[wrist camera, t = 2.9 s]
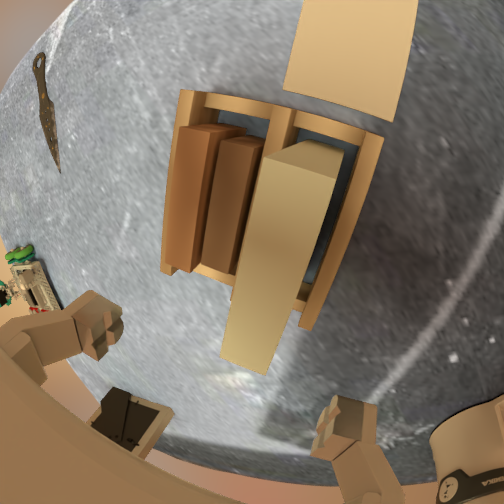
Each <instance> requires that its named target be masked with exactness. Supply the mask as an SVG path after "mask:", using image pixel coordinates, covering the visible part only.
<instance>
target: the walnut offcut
mask: <svg viewBox="0 0 504 504" xmlns="http://www.w3.org/2000/svg"><path fill="white" fill-rule="evenodd" d="M265 140H266V139H264V138H260V137H256V136H252V135H247V136H241V137H235V138H229V139H224V140H221V142H220V147H219V153H218V158H217V164H216V169H215V175H214V181H213V187H212V193H211V199H210V205H209V211H208V218H207V224H206V231H205V237H204V244H203V251H202V258H201V265H204V266H207V267H209V268H212V269H214V270H217V271H219V272H222V273H225V274H227V275H228V274H229V272H230V271H231V270H232V269H233V268H234V266H235V265H236V264H237V263H238V261H239V257H240V252H241V247H242V243H243V238H244V234H245V229H246V225H247V220H248V216H249V211H250V207H251V202H252V198H253V193H254V189H255V184H256V180H257V176H258V171H259V167H260V162H261V158H262V154H263V149H264V145H265Z"/></svg>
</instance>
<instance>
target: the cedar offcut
mask: <svg viewBox="0 0 504 504" xmlns="http://www.w3.org/2000/svg"><path fill="white" fill-rule="evenodd" d="M246 129H247V128H242V127H238V126H233V125H229V124H224V123H214V124H201V125H191V126H181V127H179V132H178V138H177V145H176V152H175V160H174V167H173V175H172V184H171V193H170V203H169V213H168V224H167V237H166V251H165V263H166V264H168V265H171V266H173V267H176V268H178V269H180V270H183V271H185V272H188V273H191V272H192V271H193V270H194V269H195V268H196V267H197V266H198V265H199V264H200V263H201V258H202V251H203V244H204V237H205V231H206V224H207V218H208V211H209V205H210V199H211V193H212V187H213V181H214V175H215V169H216V164H217V158H218V153H219V147H220V142H221V140H224V139H229V138H235V137H241V136H245V134H246Z"/></svg>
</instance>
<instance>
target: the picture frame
mask: <svg viewBox="0 0 504 504" xmlns="http://www.w3.org/2000/svg"><path fill="white" fill-rule="evenodd" d="M100 402H101V406H100V407H99V408H98V409H97V410H96V412H95V413H94V414H93V415H92V416H91V417H90V419H89V420H88V421H87V422H86V423H87V424H88V425H89V426H91V427H92V428H94V429H95V430H96V431H98V432H99V433H101V434H102V435H104V436H105V437H107V438H108V439H110V440H112V441H113V442H115V443H116V444H118V445H119V446H121V447H123V448H124V449H126V450H128V451H129V452H131V453H133V454H135V455H136V456H138V457H140V458H142V459H143V460H145V458H146V456H147V455H148V454H149V452H150V450H151V449H152V448H153V446H154V445H155V443H156V442H157V440H158V439H159V437H160V436H161V434H162V433H163V431H164V430H165V428H166V427H167V425H168V424H169V422H170V420H171V419H172V417H173V416H174V412H173V410H172V409H171V408H170V407H167V406H163V405H160V404H157V403H154V402H151V401H148V400H145V399H142V398H139V397H136V396H133V395H130V393H129V392H126V391H123V390H121V389H118V388H116V387H112V389H111V390H110V391H109V392H108V393H107V394H106V396H105V397H104V398H103V399H102V400H101V401H100Z"/></svg>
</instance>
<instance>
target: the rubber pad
mask: <svg viewBox="0 0 504 504" xmlns="http://www.w3.org/2000/svg"><path fill="white" fill-rule="evenodd" d="M417 6H418V0H304V2H303V6H302V10H301V14H300V18H299V23H298V27H297V31H296V35H295V39H294V43H293V47H292V51H291V56H290V60H289V64H288V68H287V72H286V76H285V81H284V85H283V89H282V90H286V91H290V92H294V93H299V94H303V95H307V96H310V97H314V98H318V99H322V100H325V101H329V102H332V103H336V104H339V105H342V106H346V107H349V108H352V109H355V110H358V111H361V112H364V113H367V114H370V115H373V116H376V117H378V118H381V119H384V120H386V121H389V122H393V119H394V115H395V111H396V107H397V104H398V100H399V96H400V92H401V88H402V84H403V79H404V75H405V71H406V66H407V61H408V57H409V52H410V47H411V42H412V36H413V31H414V25H415V19H416V12H417Z"/></svg>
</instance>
